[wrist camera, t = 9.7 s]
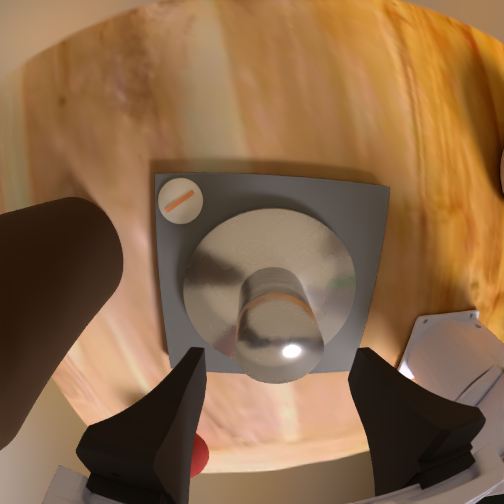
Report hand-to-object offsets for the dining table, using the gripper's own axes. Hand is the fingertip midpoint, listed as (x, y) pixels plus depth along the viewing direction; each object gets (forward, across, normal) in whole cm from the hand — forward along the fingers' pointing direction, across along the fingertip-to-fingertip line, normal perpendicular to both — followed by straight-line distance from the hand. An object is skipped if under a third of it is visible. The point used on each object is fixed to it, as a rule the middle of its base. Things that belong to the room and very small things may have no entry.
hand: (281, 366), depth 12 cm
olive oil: (+9, +16, -2) cm, 19 cm away
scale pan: (+8, 0, 0) cm, 8 cm away
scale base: (+9, 0, 0) cm, 9 cm away
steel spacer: (+7, 0, 0) cm, 7 cm away
